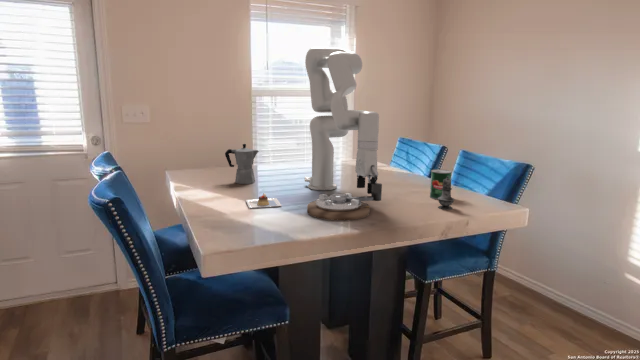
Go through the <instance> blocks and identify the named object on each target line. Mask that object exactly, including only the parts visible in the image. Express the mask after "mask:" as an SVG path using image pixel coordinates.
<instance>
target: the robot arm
mask: <svg viewBox="0 0 640 360" xmlns="http://www.w3.org/2000/svg"><path fill="white" fill-rule="evenodd" d="M304 63H305V70H306V73H307V76H308V81H309V91H310V102H311V108H312V110H313V112H316V113H320V114H321V113H322V114H323V113H327V114H328V113H331V115H317V116H314V117H313V118H312V119H311V121H310V123H309V132H310V137H311V176H304V182H307V183H309V184H308V186H307V187H308V188H309V189H310V190H313V191H330V190H331V191H333V190H335V189H337V188H338V186H337V184H336V183H334V168H335V167H334V164H335V163H334V161H335V160H334V157H335V155H334V153H335V151H334V150H335V149H334V145H333V143H332V141H331V139H332V138H342V137H346V136H347V134H348V133H349V131H357V151H356V158H355V173H356V188H357V189H364V188H366V178H367V189H366V191H367V192H366V193H367V194H368V195H371V192H372V183H378V176H379V171H378V150H379V130H380V129H379V128H380V115H379V113H378V112H376V111H368V110H366V109H363V110H362V109H360V110H359V109H357V110H356V109H349V108H348V107H349V106H348V99H347V95H350V94H351V93H353V92H354V91H355V89H356V88H357V82H356V79H355V75H358V74H359V73H360V72H361V71H362V69H363V61H362V58H361V56H360V54H358V53H357V52H354V51H351V50H349V49H345V48H343V47H342V48H341V47H333V46H332V47H329V46H313V47H311V48H309V49H308V50H307V52H306V55H305V62H304ZM324 69H328V70H329V74H330V77H331V81H332V83H333V86H334V87H333V88H334V90H332V89H331V86H330V85H331V84H330V79H329V76H328V75H327V73H326V72H325V70H324ZM330 138H331V139H330Z"/></svg>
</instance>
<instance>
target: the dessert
mask: <svg viewBox="0 0 640 360" xmlns="http://www.w3.org/2000/svg"><path fill="white" fill-rule="evenodd" d="M269 201H270V202H271V201H272V202H274V203H275V204H276V205H270V202H269ZM245 202H246V204H247V207H248V208H249V209H250V210H251V209H266V208H267V209H269V208H280V207H282V206H283V205H282V204H281V202H280V200H278V198H277V197H274V198H273V197H272V198H271V197H270V198H268V196H267V194H266V193H265V192H264V193H263V194H262V195H261V196H259V197H258V198H254V199H253V198H252V199H245ZM252 202H253V203H254V202H255V203H256V202H257V206H252V205H251V203H252Z"/></svg>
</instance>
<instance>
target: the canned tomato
mask: <svg viewBox="0 0 640 360" xmlns="http://www.w3.org/2000/svg"><path fill="white" fill-rule="evenodd" d="M430 172H431V173H430V174H431V175H430V190H429V197H430V198H431V199H432V200H433V199H434V200H438V201H439V199H438V197H441V196H442V188H443V180H444V179H446V178H447V176H448V178H449V179H450V180H451V181H452V170H447V169H435V168H434V169H432V170H430Z"/></svg>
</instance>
